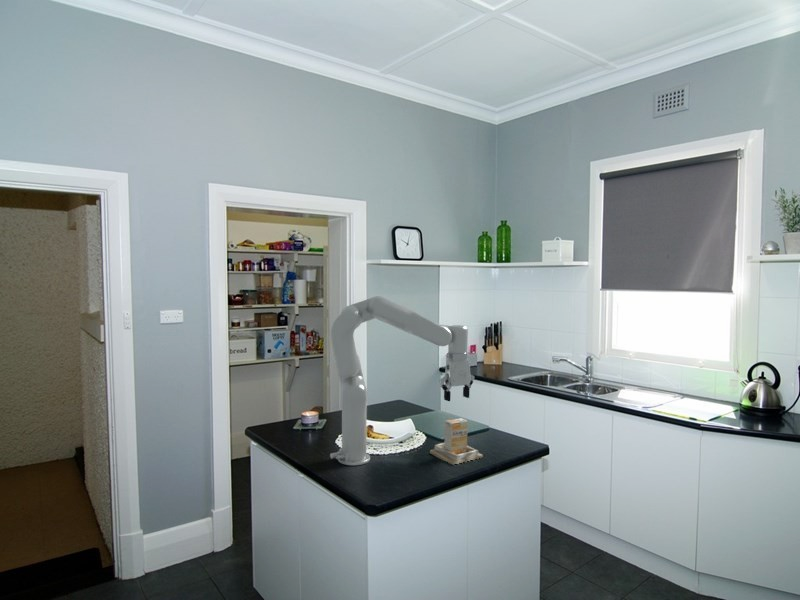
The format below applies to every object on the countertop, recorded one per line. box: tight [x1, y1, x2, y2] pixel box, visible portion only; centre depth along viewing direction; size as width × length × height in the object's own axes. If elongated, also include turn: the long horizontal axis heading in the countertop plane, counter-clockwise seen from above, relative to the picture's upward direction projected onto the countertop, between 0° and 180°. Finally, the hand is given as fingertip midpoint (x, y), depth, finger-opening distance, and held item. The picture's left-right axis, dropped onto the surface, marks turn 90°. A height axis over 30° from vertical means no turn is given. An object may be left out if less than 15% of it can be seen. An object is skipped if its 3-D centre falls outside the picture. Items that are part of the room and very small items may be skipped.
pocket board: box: [429, 442, 484, 466], centre depth 201 cm, size 15×15×3 cm
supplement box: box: [443, 417, 469, 454], centre depth 201 cm, size 8×5×13 cm, turn 120°
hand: (456, 398), depth 200 cm, fingers open, 9 cm apart
